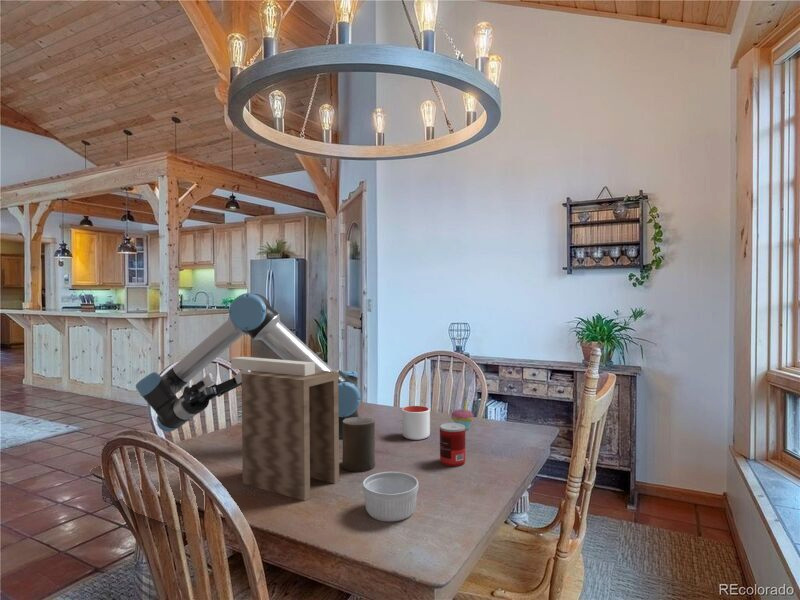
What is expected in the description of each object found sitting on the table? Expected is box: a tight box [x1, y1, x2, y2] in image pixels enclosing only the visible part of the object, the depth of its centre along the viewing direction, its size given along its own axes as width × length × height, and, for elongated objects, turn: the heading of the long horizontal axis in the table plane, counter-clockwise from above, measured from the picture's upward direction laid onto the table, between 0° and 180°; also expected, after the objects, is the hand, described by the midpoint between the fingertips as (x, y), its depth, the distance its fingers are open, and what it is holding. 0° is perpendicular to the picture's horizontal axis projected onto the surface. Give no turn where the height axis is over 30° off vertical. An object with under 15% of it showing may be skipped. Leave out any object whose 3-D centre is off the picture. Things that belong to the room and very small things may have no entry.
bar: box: [230, 356, 315, 376], centre depth 130 cm, size 28×4×3 cm, turn 60°
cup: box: [401, 405, 431, 441], centre depth 168 cm, size 10×10×10 cm
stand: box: [241, 370, 340, 501], centre depth 127 cm, size 22×14×30 cm, turn 60°
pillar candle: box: [342, 415, 376, 473], centre depth 139 cm, size 10×10×15 cm
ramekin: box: [362, 471, 419, 523], centre depth 110 cm, size 13×13×7 cm
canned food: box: [439, 422, 466, 467], centre depth 142 cm, size 8×8×11 cm
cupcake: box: [450, 397, 475, 431], centre depth 178 cm, size 9×8×12 cm
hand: (231, 373), depth 138 cm, fingers open, 13 cm apart
